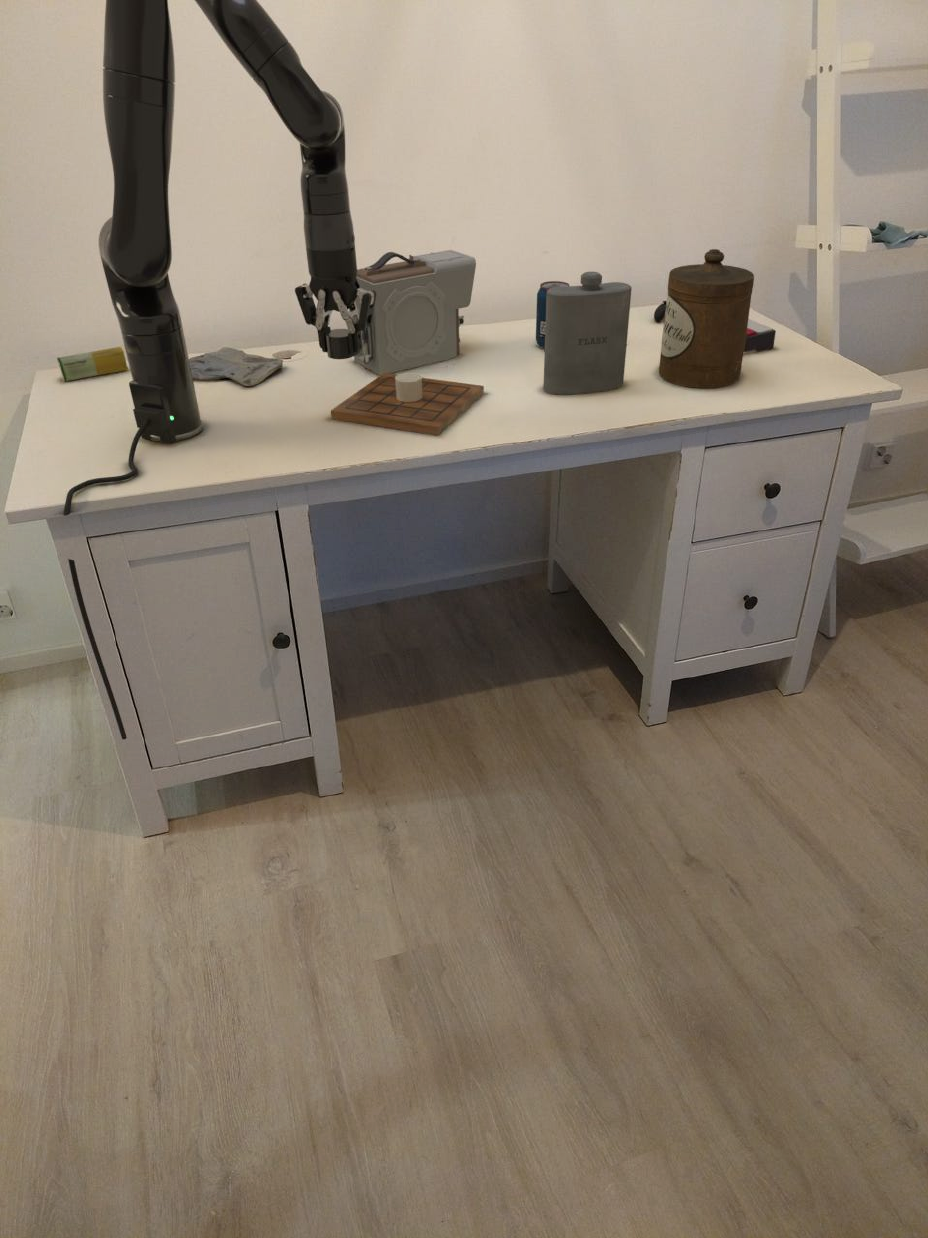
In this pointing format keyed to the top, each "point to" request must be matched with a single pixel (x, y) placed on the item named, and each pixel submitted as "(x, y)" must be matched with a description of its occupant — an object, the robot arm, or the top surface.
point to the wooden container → (705, 323)
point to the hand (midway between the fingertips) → (341, 352)
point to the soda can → (543, 310)
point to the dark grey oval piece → (660, 312)
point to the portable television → (415, 309)
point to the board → (408, 405)
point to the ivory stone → (408, 387)
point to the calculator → (759, 337)
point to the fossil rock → (233, 366)
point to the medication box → (92, 363)
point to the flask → (586, 336)
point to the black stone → (338, 344)
